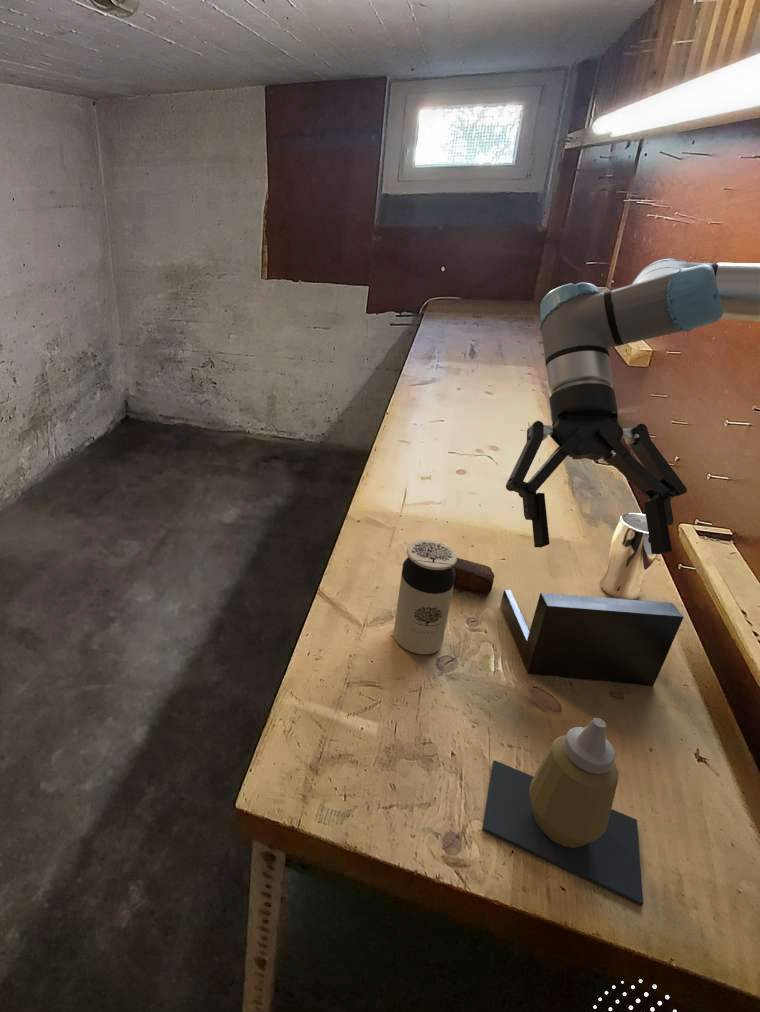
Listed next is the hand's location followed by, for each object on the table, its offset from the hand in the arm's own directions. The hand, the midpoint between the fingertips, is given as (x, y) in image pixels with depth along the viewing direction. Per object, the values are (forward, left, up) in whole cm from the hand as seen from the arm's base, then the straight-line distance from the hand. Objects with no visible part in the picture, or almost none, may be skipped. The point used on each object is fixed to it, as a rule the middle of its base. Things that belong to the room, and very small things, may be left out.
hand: (600, 549), depth 69 cm
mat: (-2, +17, -29) cm, 34 cm away
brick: (+16, -24, -29) cm, 41 cm away
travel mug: (+20, -6, -29) cm, 36 cm away
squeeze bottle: (-2, +17, -29) cm, 34 cm away
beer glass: (-10, -36, -29) cm, 47 cm away
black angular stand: (-2, -17, -29) cm, 34 cm away
